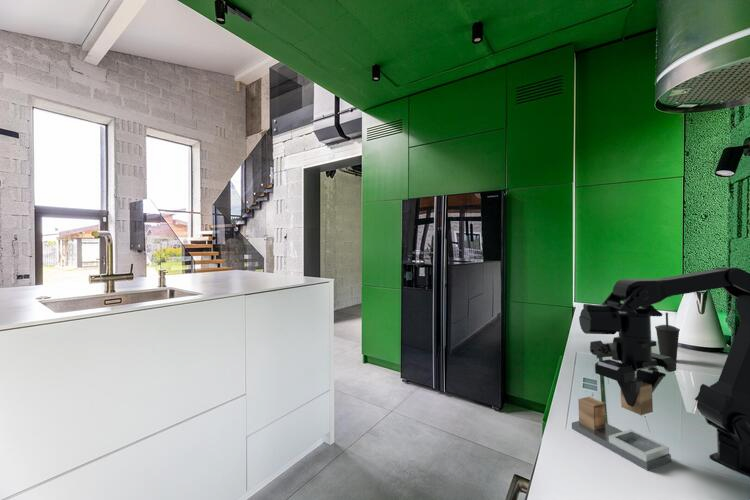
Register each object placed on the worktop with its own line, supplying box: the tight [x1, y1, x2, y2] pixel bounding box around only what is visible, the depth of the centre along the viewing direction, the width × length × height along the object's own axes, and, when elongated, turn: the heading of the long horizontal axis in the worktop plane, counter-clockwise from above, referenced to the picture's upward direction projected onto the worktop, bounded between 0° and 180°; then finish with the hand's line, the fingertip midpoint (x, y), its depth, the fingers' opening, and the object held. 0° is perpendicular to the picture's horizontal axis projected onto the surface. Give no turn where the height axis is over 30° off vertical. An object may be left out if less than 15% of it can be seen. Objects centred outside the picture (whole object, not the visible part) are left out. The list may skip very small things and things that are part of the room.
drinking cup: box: [654, 312, 681, 363], centre depth 131 cm, size 8×8×20 cm
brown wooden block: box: [578, 396, 606, 430], centre depth 80 cm, size 4×4×6 cm
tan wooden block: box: [620, 382, 654, 416], centre depth 71 cm, size 4×4×6 cm
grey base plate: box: [571, 420, 672, 471], centre depth 75 cm, size 8×17×3 cm, turn 20°
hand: (636, 403), depth 71 cm, fingers closed on tan wooden block, 4 cm apart
